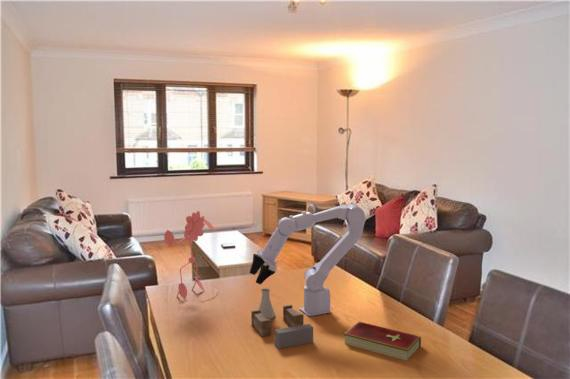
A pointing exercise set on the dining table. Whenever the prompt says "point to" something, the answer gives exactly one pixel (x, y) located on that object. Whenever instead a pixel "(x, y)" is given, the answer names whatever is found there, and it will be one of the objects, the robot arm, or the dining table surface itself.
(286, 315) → the housing
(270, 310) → the flask
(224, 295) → the dining table surface
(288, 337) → the stop
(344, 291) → the dining table surface
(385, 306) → the dining table surface
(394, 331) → the hardcover book
